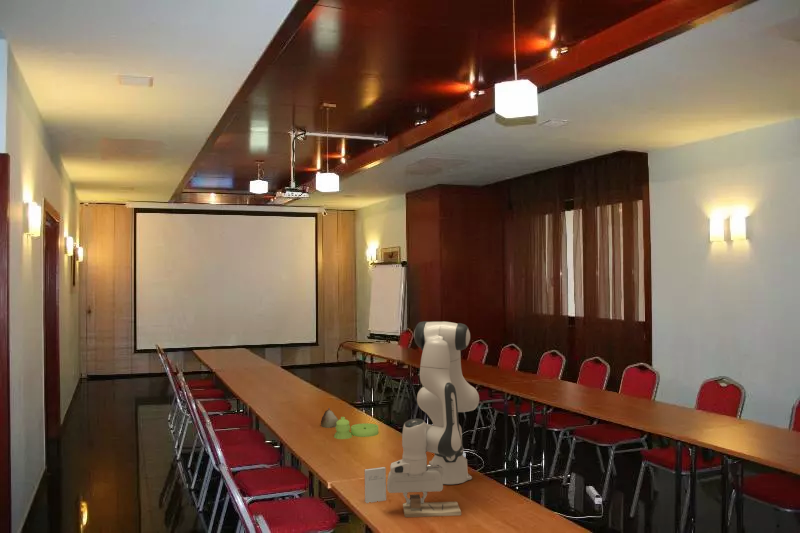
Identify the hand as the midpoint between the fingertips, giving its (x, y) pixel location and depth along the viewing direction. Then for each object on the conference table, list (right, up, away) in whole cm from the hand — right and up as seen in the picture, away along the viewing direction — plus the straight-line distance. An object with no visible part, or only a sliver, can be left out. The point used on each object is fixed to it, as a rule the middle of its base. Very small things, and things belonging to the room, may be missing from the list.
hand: (415, 503), depth 238 cm
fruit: (-44, -6, +131) cm, 138 cm away
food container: (-29, -6, +111) cm, 114 cm away
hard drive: (-15, -3, +11) cm, 19 cm away
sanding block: (0, -1, 0) cm, 1 cm away
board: (+6, -3, 0) cm, 6 cm away
